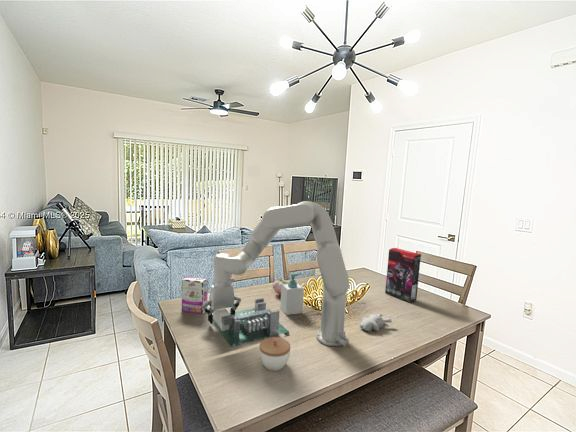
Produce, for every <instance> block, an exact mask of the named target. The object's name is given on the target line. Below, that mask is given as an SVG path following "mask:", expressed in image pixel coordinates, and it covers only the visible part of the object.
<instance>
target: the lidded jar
mask: <svg viewBox="0 0 576 432" xmlns="http://www.w3.org/2000/svg"><path fill="white" fill-rule="evenodd" d="M290 353H291V343H290V342H289V341H288V339H285V338H283V337H278V336H271V337H267V338H264V339H263V340H262V339H261V341H260V343H259V357H260V361H261V364H263V366H265V368H266V370H269V371H273V372H276V371H280V370H282V368H283V367H284V366H286V364H287V363H288V361H289V359H290V356H291V355H290Z"/></svg>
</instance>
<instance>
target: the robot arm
mask: <svg viewBox="0 0 576 432" xmlns="http://www.w3.org/2000/svg"><path fill="white" fill-rule="evenodd" d="M332 221H333V220H332V219H331V216H330V215H329V213H328V211H327V210H326V208H324V207H323V206H322V205H320V204H319V203H316V202H313V201H309V200H303V201H300V202H298V203H297V204H291V205H285V206H280V205H273V206H271V207H269V208H268V209H266V210H265V211H264V213H263V215H262V218H261V220H260V221H259V222H258V224H257V225H256V226H255V228H253V230H252V232H251V233H250V237H249V239H248V241H247V243H246V244H245V245H244V247H243V248H242V249H241V251H239V253H238V254H236V255H235V256H232V255H231V254H229V253H226V252H225V253H223V252H221V253H217V254H215V255H214V257H213V284H212V285H211V286H210V292H209V297H208V301H207V302H206V303H204V304H203V305H202V307H203V309H204V311H205V313H206V314H207V322H209V323H210V325H212V324H214V323H213V312H214V311H215V310H220V309H229V308H230V309H229V310H230V311H229V313H230V314H231V315H235V312H236V311H237V309H238V307H239V306H240V304H241V302H242V299H241V297H237V296H235V291H234V284H233V282H235V281H236V280H235V278H232V275H235V276H241V275H243V274H245V273H246V272H247V271H248V269H249V268H250V267H251V266H252V265H253V263H254V262H255V261H256V260H257V259H258V257H259V256H260V254H261V253H262V252H263V251H264V250H265V249H266V248H267V247H268V246H269V244H270V243H271V241H273V239H274V238H275V237H276V235H277V234H278V233H279V231H280V230H287V229H292V228H298V227H300V228H301V227H303V226H307V225H310V227H311V230H312V235H313V237H314V240H315V244H316V257H315V258H316V263H317V266H318V270H319V272H320V277H321V280H322V283H323V288H322V289H323V291H322V303H321V318H320V329H319V330H318V331H317V332H316V336H315V337H316V339H317V341H318V342H320V343H321V344H323V345H325V346H329V347H330V346H331V347H340V346H344V347H345V346H346V345H347V343H348V342H349V340H350V339H349V338H348V336H347V335H346V331H345V318H346V307H347V306H346V305H347V294H348V290H349V288H350V281H349V279H350V278H349V274H348V271H347V269H346V264H345V261H344V257H343V254H342V249H341V247H340V244H339V241H338V238H337V235H336V231H335V228H334V224H333V222H332ZM235 301H236V302H235ZM208 306H209V307H208ZM206 307H207V308H206Z"/></svg>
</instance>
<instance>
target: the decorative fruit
mask: <svg viewBox="0 0 576 432" xmlns="http://www.w3.org/2000/svg"><path fill="white" fill-rule="evenodd" d="M282 283H289V282H288V281H287V280H285V279H283V278H282V277H281V278H276V279H275V280H274V282H273V284H272V289H273V291H274V292H275V293H276V294H277V295H279V296H281V284H282Z"/></svg>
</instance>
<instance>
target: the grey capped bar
mask: <svg viewBox="0 0 576 432" xmlns="http://www.w3.org/2000/svg"><path fill="white" fill-rule="evenodd" d="M268 312H272V310H271V309H270V308H268V309H266V310H262V311H257V312H252V313H247V314H242V315H237V316H232V315H228V316H223V317H222V319H221V323H222V324H223V325H224V326H225V325H230V324H234V321H236V320H244V319H249V318H254V317H258V316H263V315H267V313H268Z"/></svg>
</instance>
